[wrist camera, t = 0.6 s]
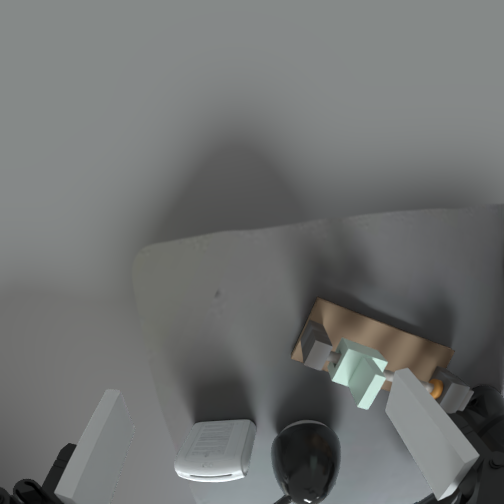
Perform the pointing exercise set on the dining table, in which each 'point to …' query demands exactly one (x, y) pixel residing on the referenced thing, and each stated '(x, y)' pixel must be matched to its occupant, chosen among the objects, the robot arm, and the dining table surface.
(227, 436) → the photo printer
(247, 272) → the dining table surface
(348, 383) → the pale green block
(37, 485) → the robot arm
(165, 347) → the dining table surface
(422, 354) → the rod stand
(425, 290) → the dining table surface
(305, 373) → the dining table surface
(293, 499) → the pump dispenser
